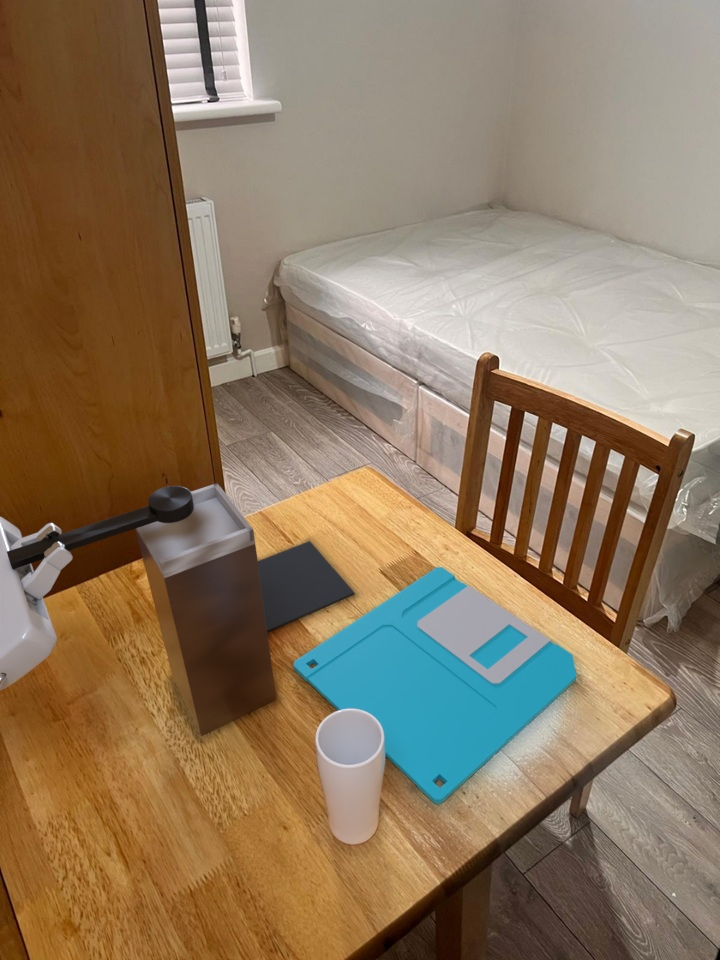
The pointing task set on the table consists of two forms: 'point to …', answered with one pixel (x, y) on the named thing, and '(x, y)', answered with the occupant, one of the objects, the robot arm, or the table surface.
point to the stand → (210, 609)
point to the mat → (298, 585)
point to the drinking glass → (351, 772)
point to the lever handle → (113, 525)
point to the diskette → (440, 677)
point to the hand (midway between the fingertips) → (62, 538)
